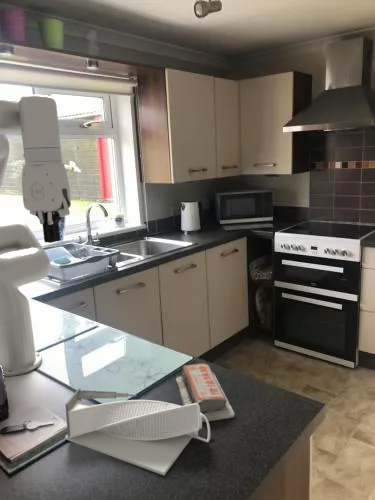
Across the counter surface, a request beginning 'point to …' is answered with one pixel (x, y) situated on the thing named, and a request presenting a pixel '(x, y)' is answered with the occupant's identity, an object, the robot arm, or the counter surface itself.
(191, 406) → the twisted tower model
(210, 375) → the packaged product
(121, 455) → the mat
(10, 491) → the counter surface
